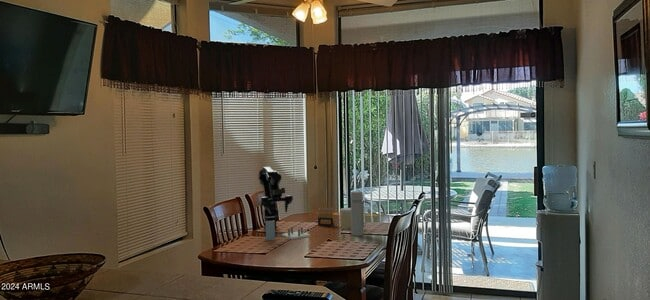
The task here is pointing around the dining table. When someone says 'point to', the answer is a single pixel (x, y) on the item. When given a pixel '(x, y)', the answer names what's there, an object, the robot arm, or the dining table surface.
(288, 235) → the base plate
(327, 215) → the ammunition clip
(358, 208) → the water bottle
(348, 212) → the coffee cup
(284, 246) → the dining table surface
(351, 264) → the dining table surface
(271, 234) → the block
